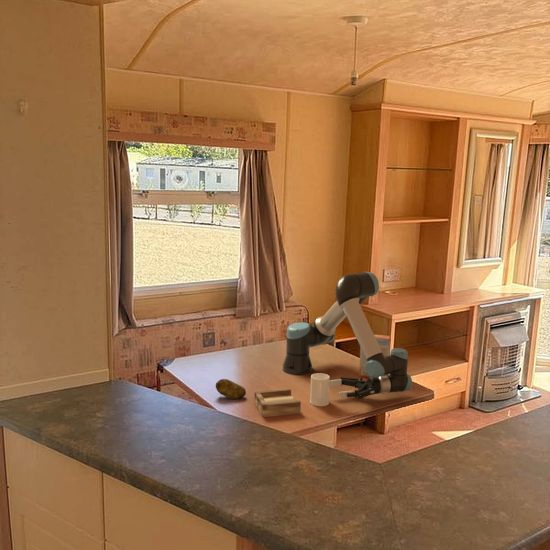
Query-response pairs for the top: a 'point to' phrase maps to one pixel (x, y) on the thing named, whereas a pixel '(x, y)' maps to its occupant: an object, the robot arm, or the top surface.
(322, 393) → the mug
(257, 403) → the display stand
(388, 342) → the cracker box
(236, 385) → the potato
